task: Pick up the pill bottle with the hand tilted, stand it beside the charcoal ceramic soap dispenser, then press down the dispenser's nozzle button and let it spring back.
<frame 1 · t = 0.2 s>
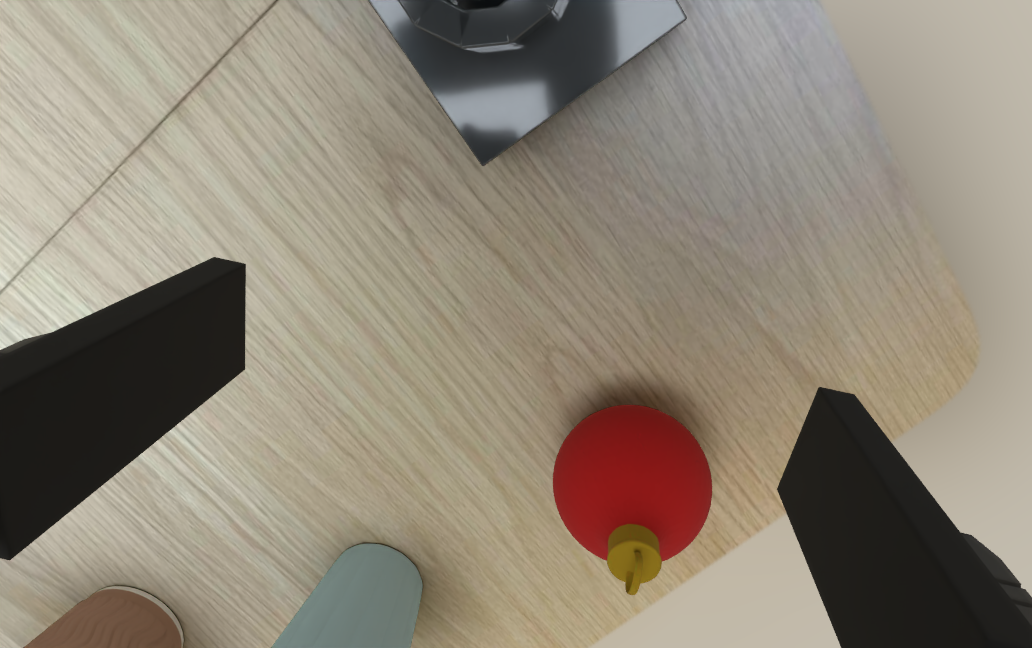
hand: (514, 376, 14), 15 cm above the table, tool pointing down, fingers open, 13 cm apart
coffee cup: (138, 622, 42), on the table
cup: (379, 576, 38), on the table
christmas ornament: (628, 439, 32), on the table
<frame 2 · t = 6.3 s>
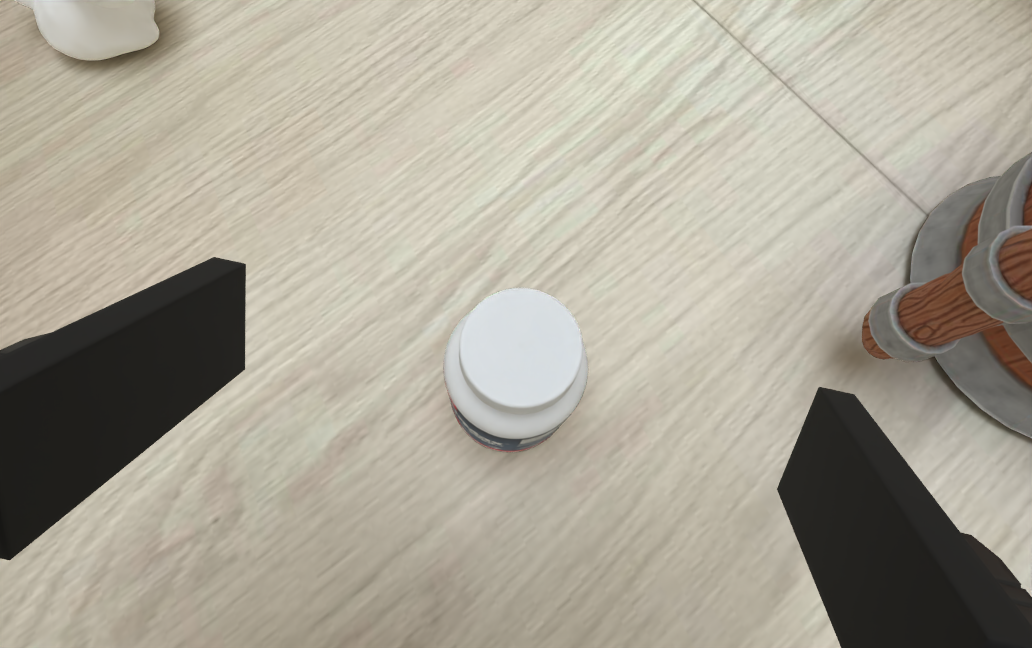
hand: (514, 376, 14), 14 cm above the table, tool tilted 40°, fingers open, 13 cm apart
pill bottle: (509, 395, 29), on the table
mug: (992, 319, 31), on the table
figurine: (115, 36, 33), on the table
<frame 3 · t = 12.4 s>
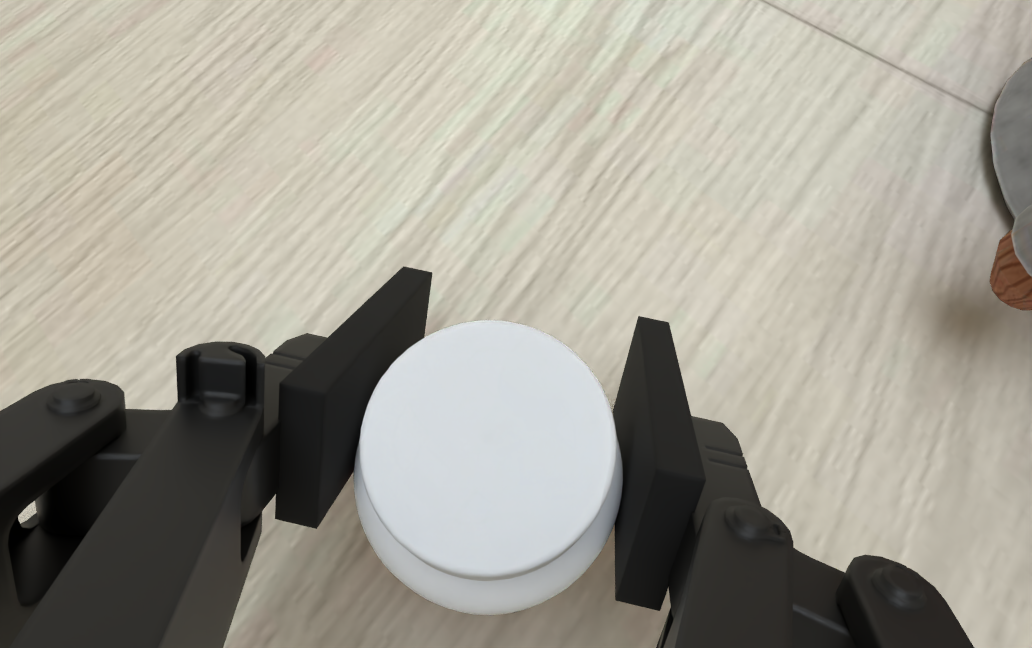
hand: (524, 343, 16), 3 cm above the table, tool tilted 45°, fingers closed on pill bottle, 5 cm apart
pill bottle: (492, 504, 18), on the table, touching gripper
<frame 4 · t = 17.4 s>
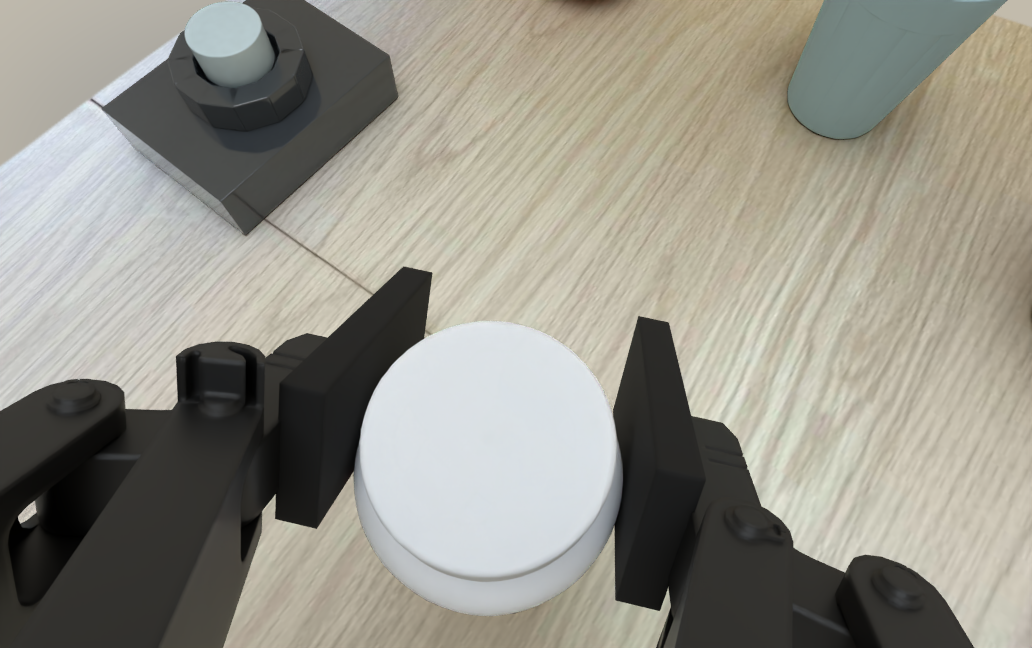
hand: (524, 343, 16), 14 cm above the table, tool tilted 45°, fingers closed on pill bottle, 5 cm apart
pill bottle: (492, 505, 18), point 11 cm above the table, touching gripper
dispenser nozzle: (231, 45, 31), point 6 cm above the table, slide at 0.1 cm
cup: (830, 105, 38), on the table
dispenser: (269, 122, 36), on the table
when the fingers open (3 cm above the table, at t = 22.5 s): pill bottle stays where it is, on the table.
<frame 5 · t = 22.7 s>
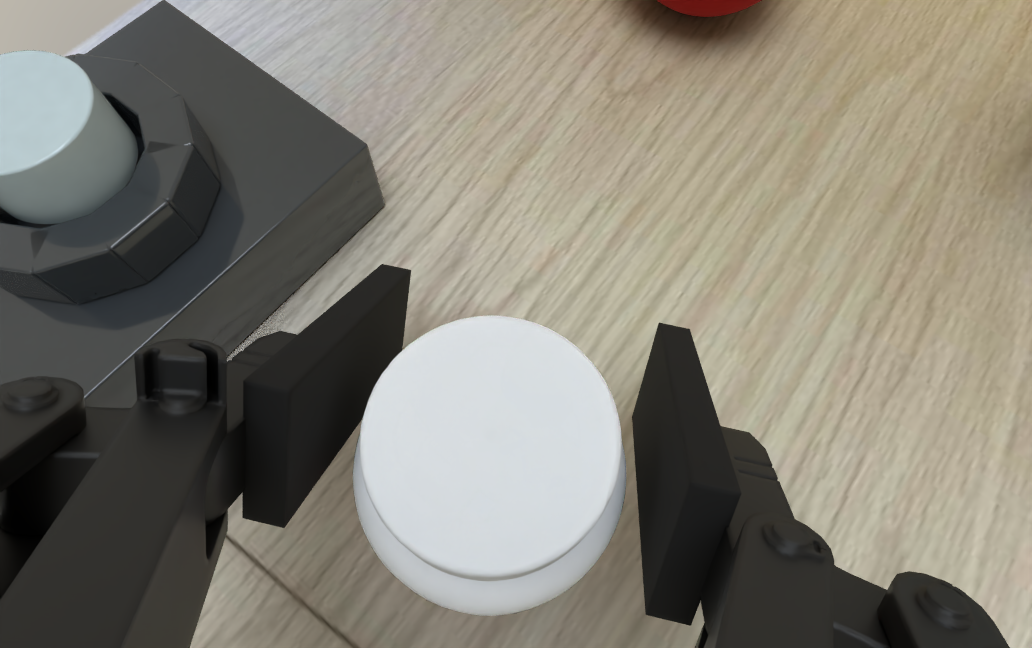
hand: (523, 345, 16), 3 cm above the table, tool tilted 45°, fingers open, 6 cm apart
pill bottle: (492, 503, 18), on the table
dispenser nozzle: (39, 138, 15), point 6 cm above the table, slide at 0.1 cm
dispenser: (155, 251, 20), on the table
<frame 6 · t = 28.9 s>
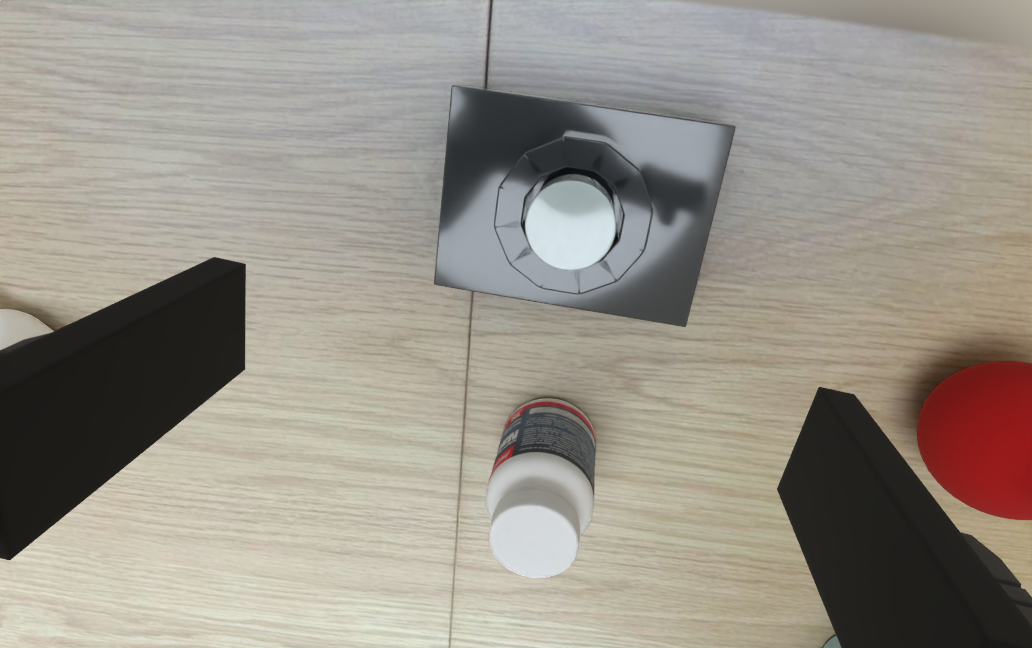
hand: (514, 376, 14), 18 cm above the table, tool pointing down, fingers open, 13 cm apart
pill bottle: (549, 435, 36), on the table
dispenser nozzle: (571, 221, 26), point 6 cm above the table, slide at 0.1 cm
christmas ornament: (965, 400, 32), on the table
dispenser: (576, 199, 31), on the table
figurine: (42, 342, 38), on the table
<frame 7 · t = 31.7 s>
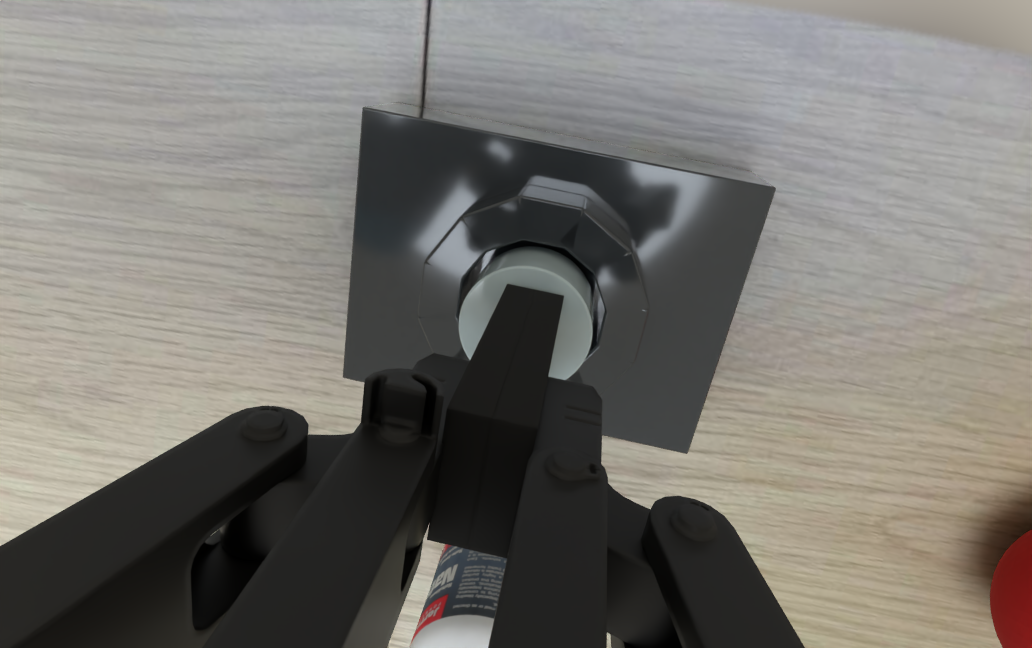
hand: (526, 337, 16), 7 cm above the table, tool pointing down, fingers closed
pill bottle: (504, 552, 28), on the table
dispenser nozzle: (528, 317, 18), point 5 cm above the table, slide at -0.2 cm, touching gripper
dispenser: (545, 264, 23), on the table
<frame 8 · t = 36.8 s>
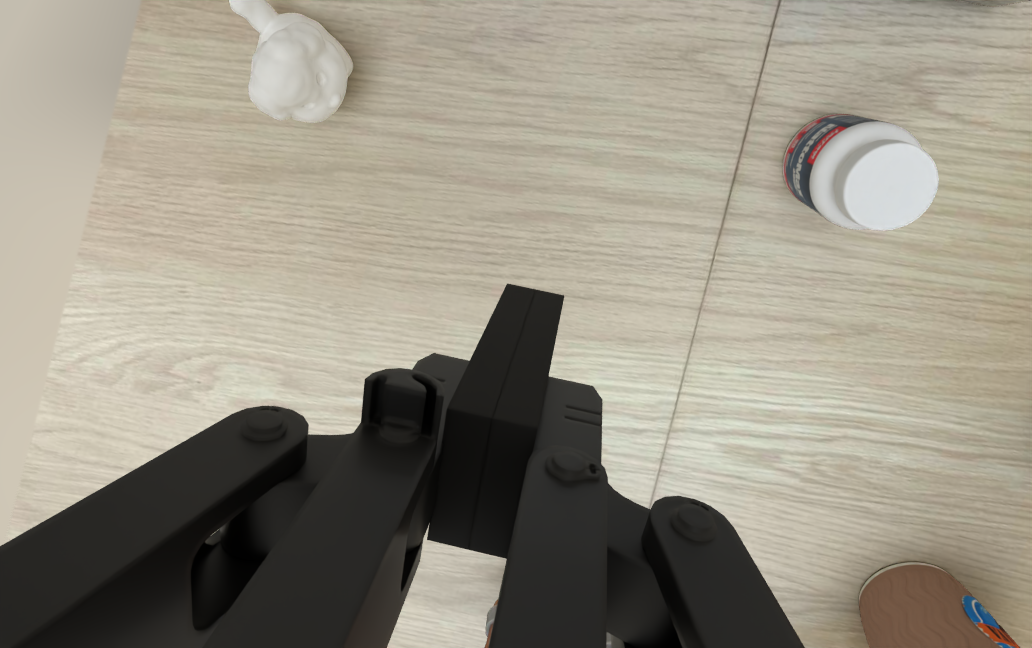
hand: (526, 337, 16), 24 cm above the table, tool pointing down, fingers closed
coffee cup: (906, 595, 47), on the table
pill bottle: (827, 160, 37), on the table
mug: (596, 624, 52), on the table
figurine: (315, 61, 39), on the table
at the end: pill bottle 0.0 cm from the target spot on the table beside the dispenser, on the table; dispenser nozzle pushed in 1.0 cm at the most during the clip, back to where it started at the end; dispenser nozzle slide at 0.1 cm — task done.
